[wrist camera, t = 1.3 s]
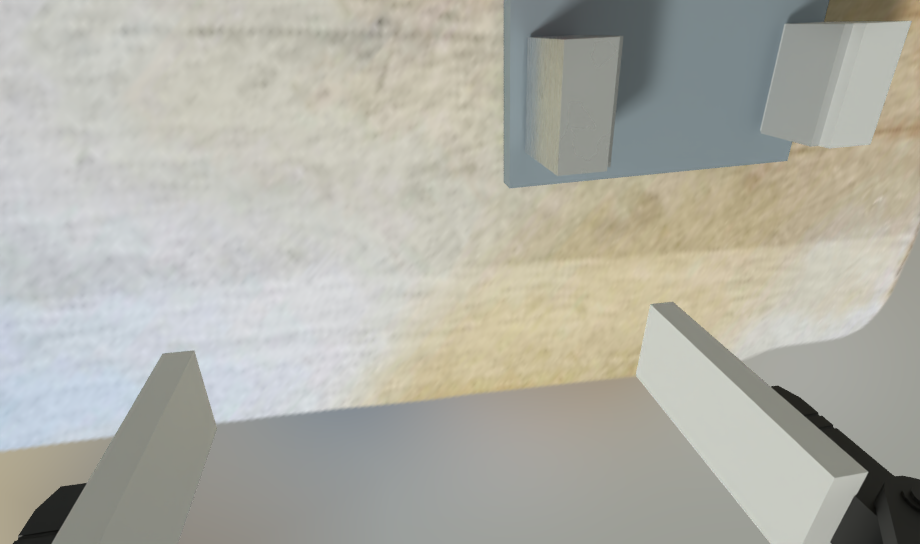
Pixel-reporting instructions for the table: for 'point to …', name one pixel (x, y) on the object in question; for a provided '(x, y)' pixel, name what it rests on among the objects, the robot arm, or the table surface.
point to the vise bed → (711, 80)
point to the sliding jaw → (572, 101)
